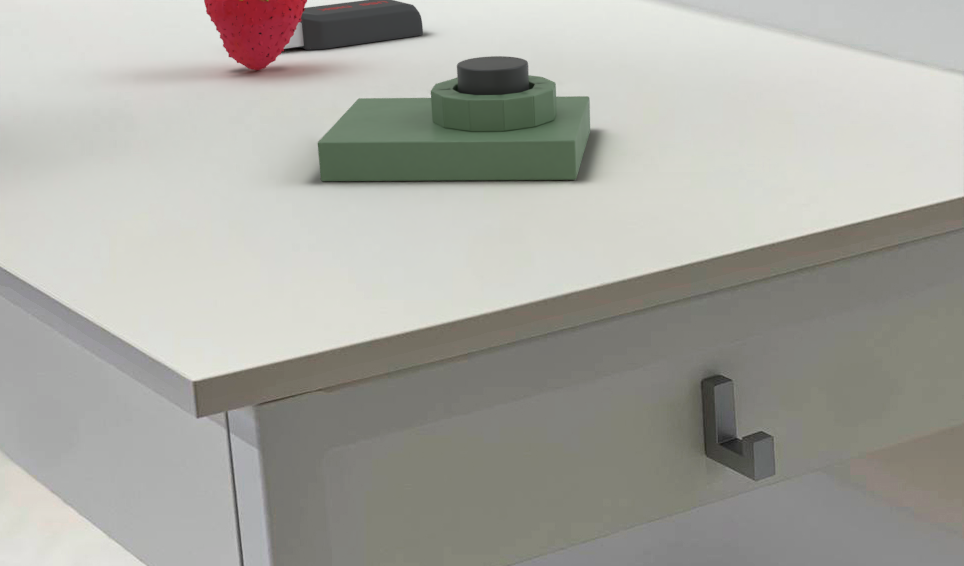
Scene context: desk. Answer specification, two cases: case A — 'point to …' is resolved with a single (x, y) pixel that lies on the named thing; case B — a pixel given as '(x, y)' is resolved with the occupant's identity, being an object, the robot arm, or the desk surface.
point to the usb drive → (355, 24)
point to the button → (492, 75)
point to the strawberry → (255, 28)
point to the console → (459, 137)
